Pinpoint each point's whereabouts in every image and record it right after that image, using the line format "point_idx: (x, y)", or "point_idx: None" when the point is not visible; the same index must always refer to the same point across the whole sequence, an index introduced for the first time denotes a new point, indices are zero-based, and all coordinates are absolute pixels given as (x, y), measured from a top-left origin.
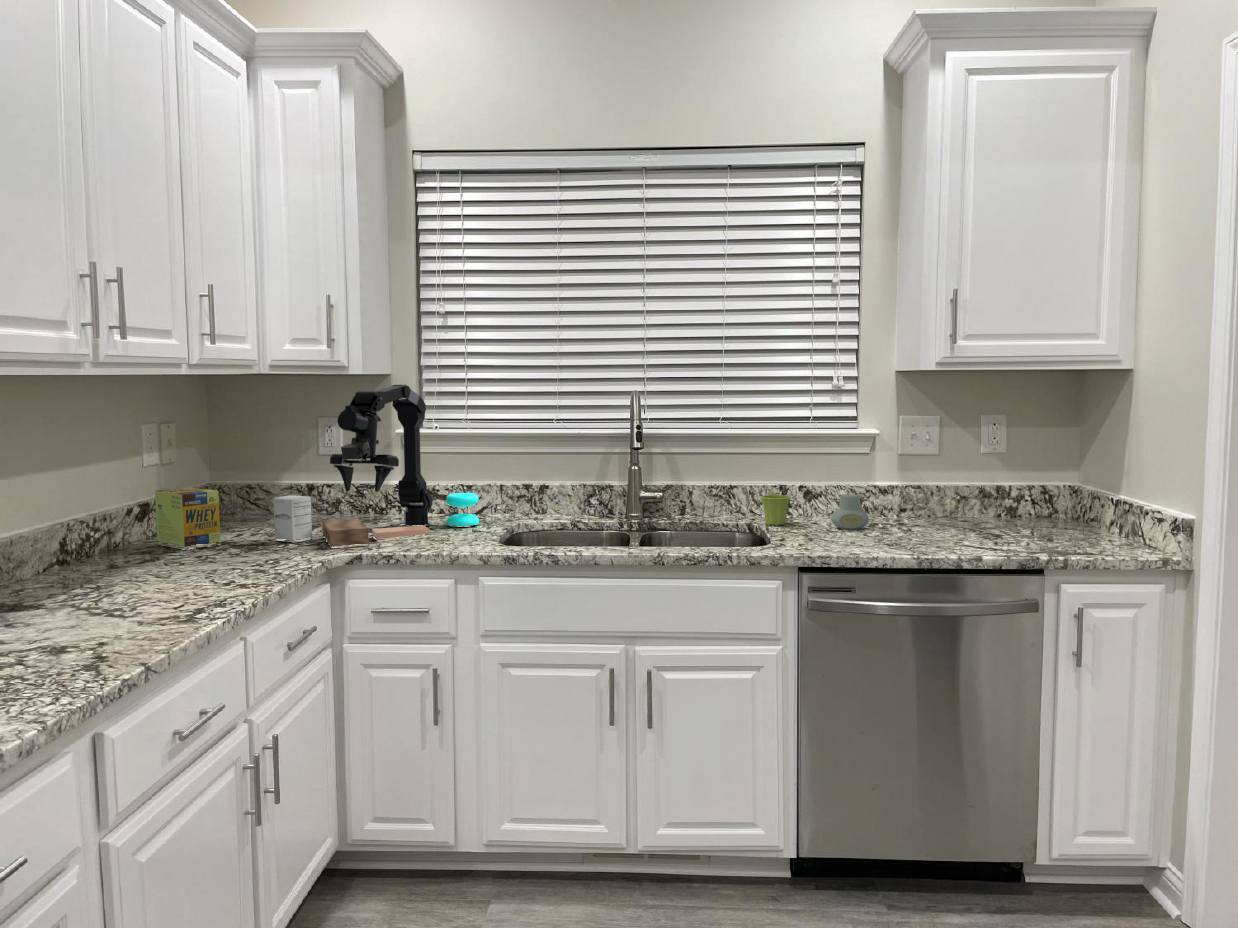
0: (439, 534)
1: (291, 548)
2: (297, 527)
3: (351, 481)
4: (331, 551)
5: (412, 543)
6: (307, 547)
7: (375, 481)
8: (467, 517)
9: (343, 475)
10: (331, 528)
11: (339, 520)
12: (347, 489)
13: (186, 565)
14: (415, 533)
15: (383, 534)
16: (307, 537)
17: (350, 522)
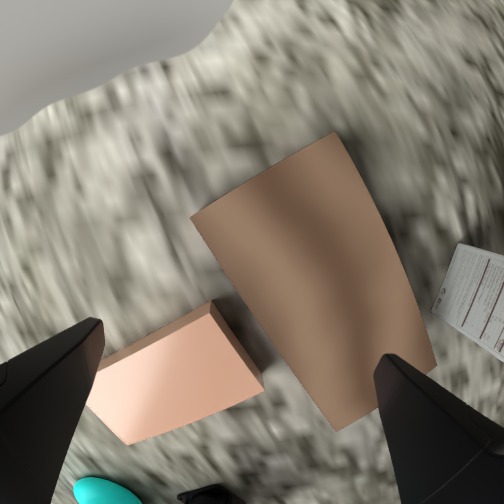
0: (89, 418)
1: (434, 161)
2: (479, 270)
3: (390, 453)
4: (292, 104)
5: (78, 280)
6: (401, 177)
7: (51, 361)
8: (82, 495)
9: (480, 426)
10: (357, 196)
11: None
12: (387, 360)
13: (491, 3)
14: (102, 365)
15: (185, 322)
16: (442, 296)
17: (335, 356)
